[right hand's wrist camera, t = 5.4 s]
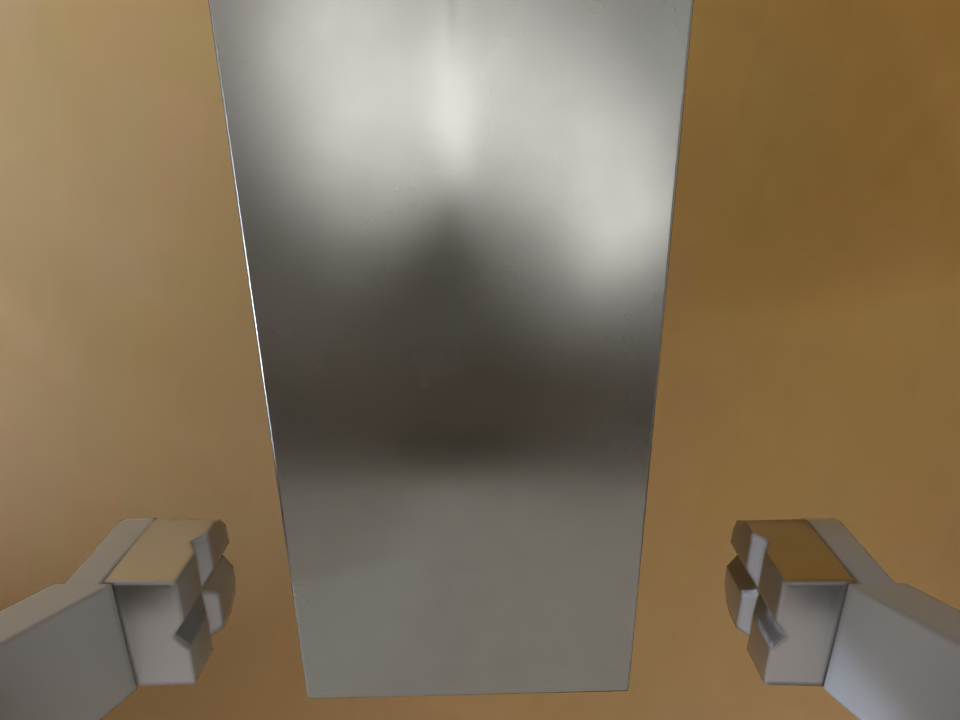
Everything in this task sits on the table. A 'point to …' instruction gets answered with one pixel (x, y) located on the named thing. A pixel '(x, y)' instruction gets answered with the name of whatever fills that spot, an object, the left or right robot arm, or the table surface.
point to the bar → (458, 323)
